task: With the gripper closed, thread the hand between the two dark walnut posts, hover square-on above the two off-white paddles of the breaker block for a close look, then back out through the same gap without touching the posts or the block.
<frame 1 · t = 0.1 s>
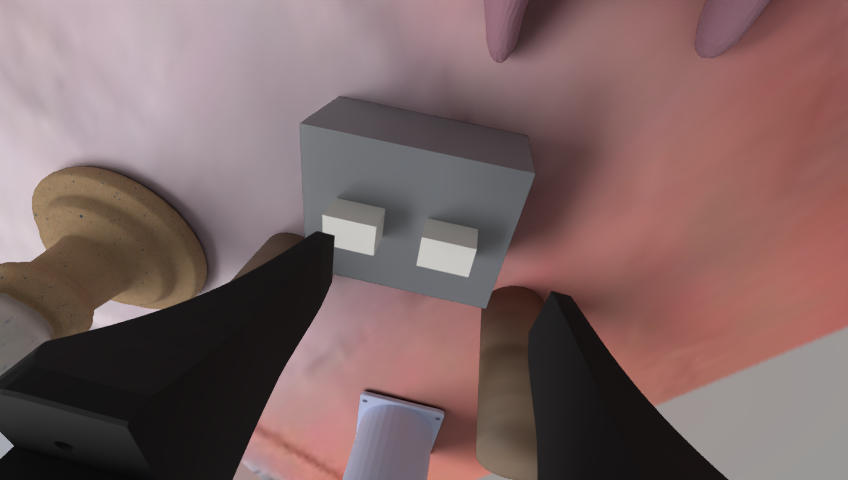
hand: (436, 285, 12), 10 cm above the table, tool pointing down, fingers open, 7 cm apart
candle holder: (134, 238, 28), on the table
walnut post 1: (513, 310, 26), on the table
walnut post 2: (294, 258, 26), on the table
breaker block: (421, 182, 21), on the table
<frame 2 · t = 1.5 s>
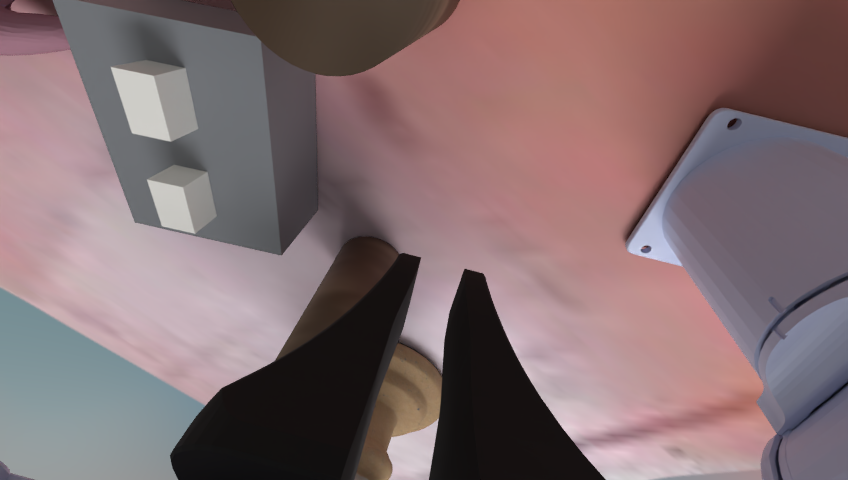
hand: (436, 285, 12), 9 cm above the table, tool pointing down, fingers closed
candle holder: (377, 379, 32), on the table
walnut post 2: (371, 263, 24), on the table
breaker block: (248, 115, 20), on the table
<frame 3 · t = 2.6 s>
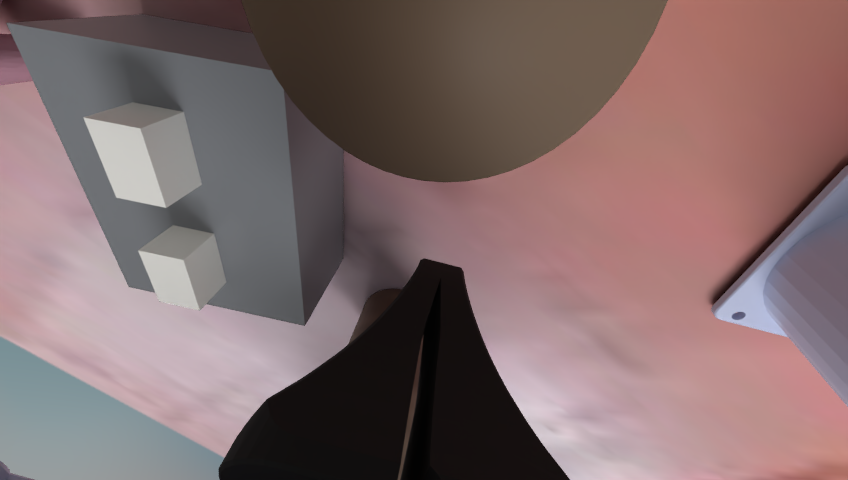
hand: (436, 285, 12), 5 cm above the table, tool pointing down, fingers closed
walnut post 2: (400, 317, 21), on the table
breaker block: (261, 154, 17), on the table
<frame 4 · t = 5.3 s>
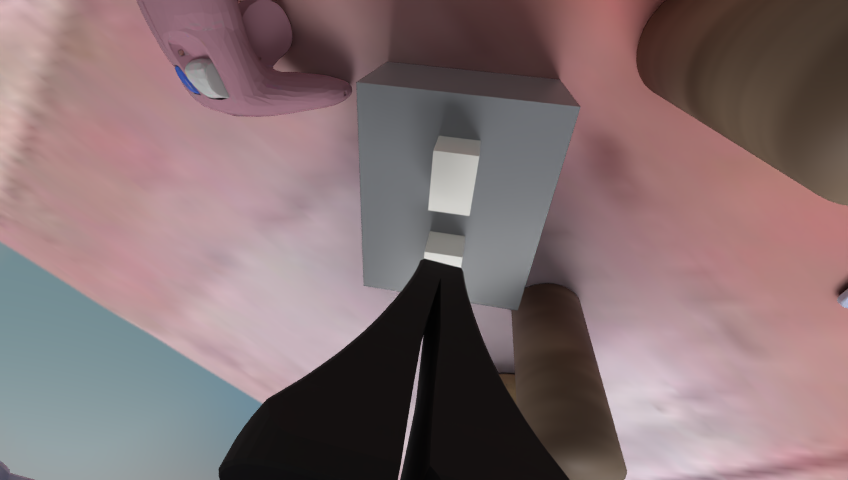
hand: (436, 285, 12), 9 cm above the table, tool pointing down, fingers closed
walnut post 1: (696, 42, 15), on the table
walnut post 2: (545, 308, 24), on the table
breaker block: (458, 168, 20), on the table
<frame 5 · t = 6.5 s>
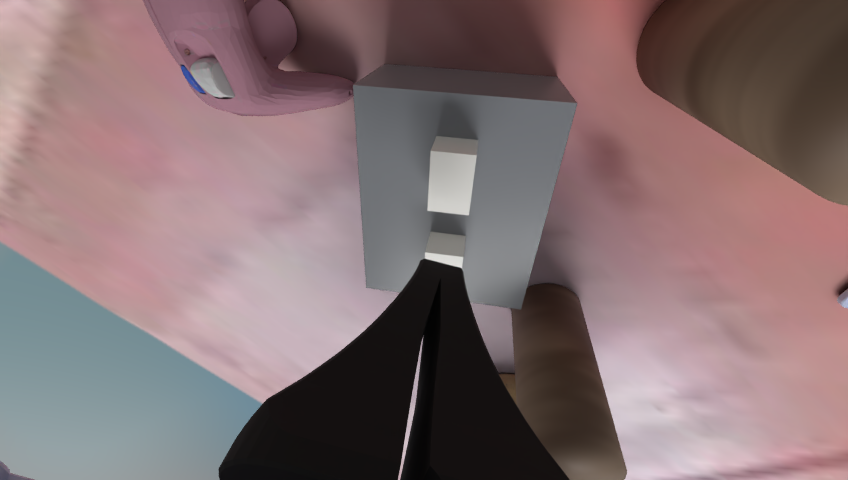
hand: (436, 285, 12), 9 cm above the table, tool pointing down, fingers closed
walnut post 1: (696, 42, 15), on the table
walnut post 2: (545, 308, 24), on the table
breaker block: (458, 168, 20), on the table
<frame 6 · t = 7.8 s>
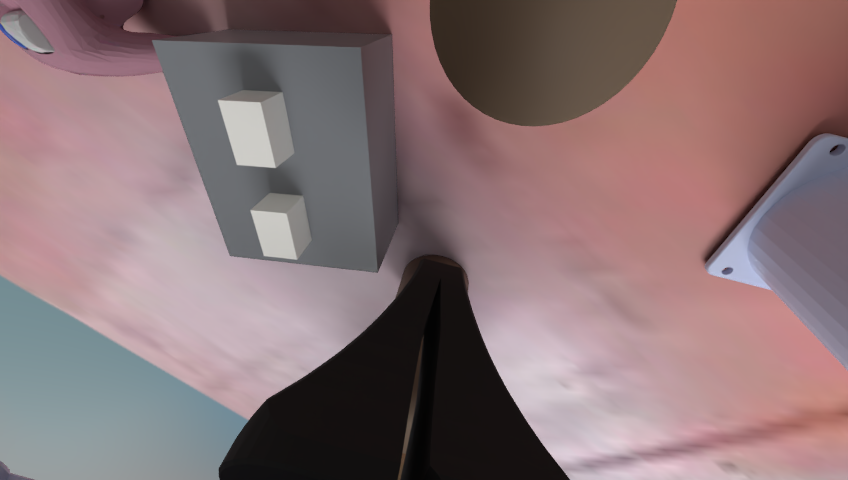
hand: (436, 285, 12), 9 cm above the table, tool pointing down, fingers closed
walnut post 2: (435, 281, 24), on the table
breaker block: (325, 136, 20), on the table
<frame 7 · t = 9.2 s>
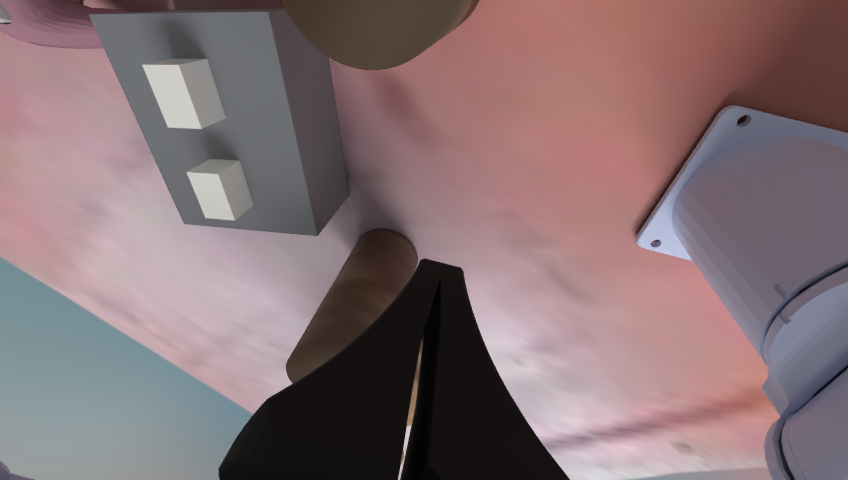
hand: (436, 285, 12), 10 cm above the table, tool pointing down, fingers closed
candle holder: (389, 369, 33), on the table
walnut post 2: (386, 255, 25), on the table
breaker block: (273, 110, 21), on the table
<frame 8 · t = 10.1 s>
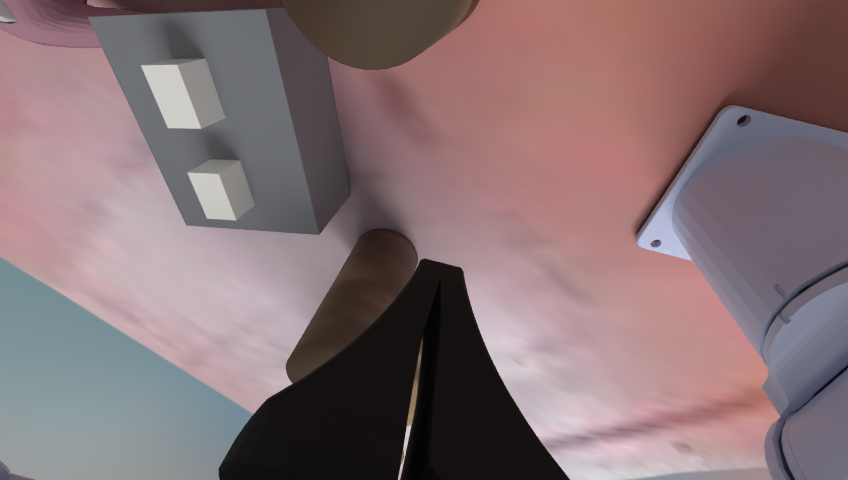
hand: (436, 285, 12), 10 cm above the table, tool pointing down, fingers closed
candle holder: (389, 369, 33), on the table
walnut post 2: (386, 255, 25), on the table
breaker block: (273, 110, 21), on the table
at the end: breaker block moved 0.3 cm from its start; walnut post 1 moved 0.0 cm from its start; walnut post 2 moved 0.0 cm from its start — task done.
